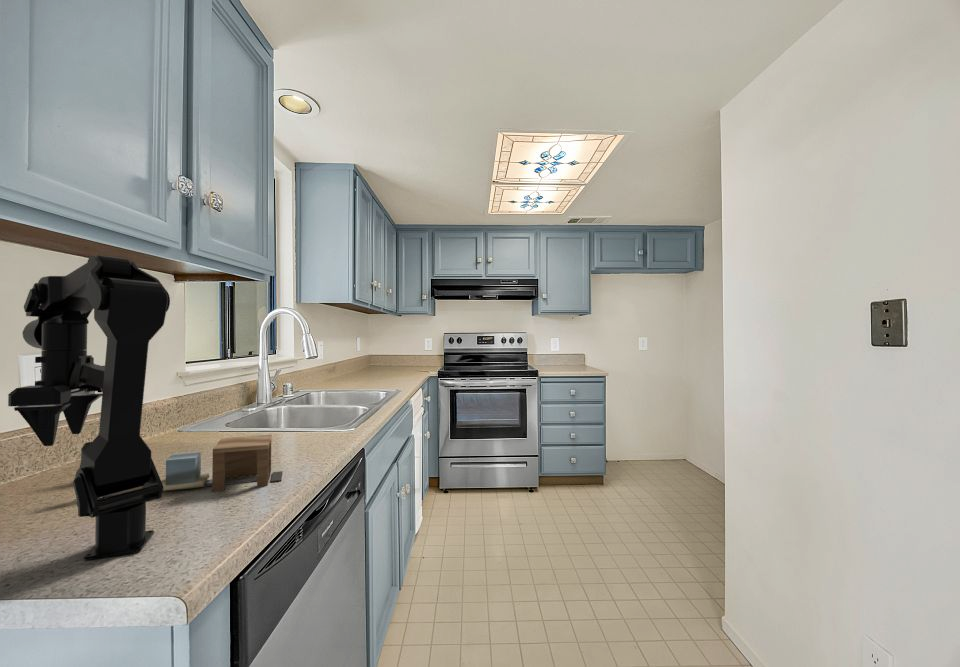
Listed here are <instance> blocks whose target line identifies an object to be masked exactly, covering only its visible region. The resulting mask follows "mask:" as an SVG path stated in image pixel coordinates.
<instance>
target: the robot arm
mask: <svg viewBox="0 0 960 667" xmlns="http://www.w3.org/2000/svg"><path fill="white" fill-rule="evenodd" d="M170 298H171V297H170V294H169V292H168V290H167V289H166V288H165V287H164V285H163V284H162V283H161V281H160V280H159V279H158V278H156V277H155V276H153V275H152V274H149V273H148V272H145V271H144V270H142V269H140V268H139V267H138V266H137V265H136V263H135V262H134V261H133V260H130V259H128V258H125V257H124V258H123V257H118V256H110V255H109V256H108V255H102V254H96V255H91V256H89V257H88V259H87V261H86V262H85V263H84V264H82V265H80V266H79V267H78V268H76V269H75V270H73V271H71V272H70V273H68V274H66V275H49V276H42V277H41V278H40V279H39V280H38V281H37V282H35V283H34V284H33V286H32V288H30V289H29V291H28V293H27V296H26V299H25V303H24V304H23V310H24V312H25V317H32V318H33V317H37V319H34V320H31V321H30V322H28V323H27V324H26V325H25V327H24V329H23V330H22V338H23V339H24V341H25V343H26V344H28V345H29V346H31V347H33V348H35V349H40V350H41V351H40V352H41V354H40V355H41V356H35V358H34V364H35V363H36V364H39V363H40V365H41V368H40V380H35V381H34V385H26V386H20V387H16V388H15V389H13V390H12V391H11V392H9V393H8V394H7V396H8V397H7V400H8V401H7V406H8V407H13V410H14V412H18V413H19V414H20V416H21V417H22V418H23V419H24V420H25V422H26V423H27V425H29V427H30V428H31V429H32V431H33V433H34V434H35V435H36V436H37V438H38V440H39V441H40V442H41V445H43V446H44V447H52V446H53V445H54V444H55V442H56V438H57V432H58V426H59V421H60V415H61V413H62V412H63V415H64V417H65V420H66V421H65V422H66V424H67V425H68V426H67V427H68V428H69V430H70V432H71V435H79V434H81V433H82V430H83V427H84V425H85V422H86V419H87V416H88V413H89V411H90V409H91V407H92V404H93V403H94V402H96V401H97V400H98V399H99V398H101V406H100V416H99V428H98V434H97V436H96V437H95V438H94V439H93V440H92V441H89V442H84V444H83V446H82V448H80V449H81V452H80V453H81V454H80V456H81V457H80V464H79V468H78V469H77V470H76V472H75V477H73V478H74V479H73V480H72V485H73V489H74V494H75V499H76V506H77V516H78V517H79V518H82V517H90V518H91V519H94V518H95V532H94V533H95V534H94V535H95V536H94V538H95V541H94V542H95V543H94V546H92V547H91V548H90V549H88V551H87V552H86V553H85V555H84V556H83V560H84V561H87V560H96V559H99V558H101V559H102V558H105V557H106V558H107V557H108V558H109V557H114V556H120V555H128V554H134V553H139V552H141V551H142V550H143V549H144V547H145V546H146V545H147V544H148V542H149V541H150V539H151V538H152V537H153V535H154V534H155V530H154V529H153V530H151V529H150V530H147V529H146V526H147V524H146V522H147V502H150V501H155V500H161V499H162V496H163V492H164V491H163V484H162V482H161V480H162V479H161V478H160V474H159V472H158V470H157V467H156V465H155V463H154V460H153V459H152V450H151V449H150V447H149V446H148V444H147V443H146V442H145V441H144V439H143V438H142V436H141V427H142V415H143V406H144V396H145V395H144V394H145V385H146V384H145V383H146V373H147V362H148V355H149V354H148V353H149V352H148V351H149V344H150V343H149V342H150V341H151V340H152V339H153V338H154V337H155V336H156V335H157V333H158V332H159V331H160V330H161V329H162V327H163V326H164V324H165V320H166V314H167V312H168V310H169V309H170V305H171V304H170V303H171V299H170ZM92 311H94V312H93V318H94V321H95V322H96V323H97V326H99V328H100V330H101V331H102V333H103V334H104V335H105V336H106V347H105V348H106V349H105V350H106V352H105V362H104V365H100V364H96V363H94V357H93V356H92V355H91V354H90V355H89V354H88V350H87V349H88V324H89V323H90V320H89V319H88V318H89V316H90V314H91V313H92ZM96 392H97V393H96ZM141 486H142V489H138V490H134V491H130V492H127V493H123V494H119V495H115V496H111V497H106V498H97V497H101V496H105V495H109V494H113V493H117V492H121V491H125V490H129V489H133V488H137V487H141Z"/></svg>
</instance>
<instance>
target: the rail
mask: <svg viewBox="0 0 960 667" xmlns="http://www.w3.org/2000/svg"><path fill="white" fill-rule="evenodd" d="M270 477H271V474H270V473H268V481H269V480H270V479H271V478H270ZM249 482H251V483H252V482H257V474H253V475H243V476H234V477H225V485H233V484H242V483H243V484H244V483H249ZM205 487H206V488H207V487H212V479H208V480H207V481H206V483H205V484H204V486H200V487H191V488H182V489H181V490H187V489H197V488H205ZM177 490H180V489H172V490H163V492H168V491H169V492H170V491H177ZM123 493H127V492H123ZM123 493H114V494H109V495H105V496H101V497H106V498H107V497H111V496H115V495H119V494H123ZM101 497H97V499H102V498H101Z"/></svg>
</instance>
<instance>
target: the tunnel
mask: <svg viewBox="0 0 960 667" xmlns="http://www.w3.org/2000/svg"><path fill="white" fill-rule="evenodd" d="M270 473H272V434H263V435H250V436H249V435H248V436H246V435H245V436H237V437H235V436H234V437H223V438H220V440H219V441H218V442H217V443H216V445H214V447H213V448H212V478H211V480H212V486H211V488H212V489H211V490H212V491H211V492H212V493H213V492H221V491H225V478H233V477H243V476H253V475H257V481H256V487H265V486H268V485H269V480H268V474H270Z"/></svg>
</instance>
